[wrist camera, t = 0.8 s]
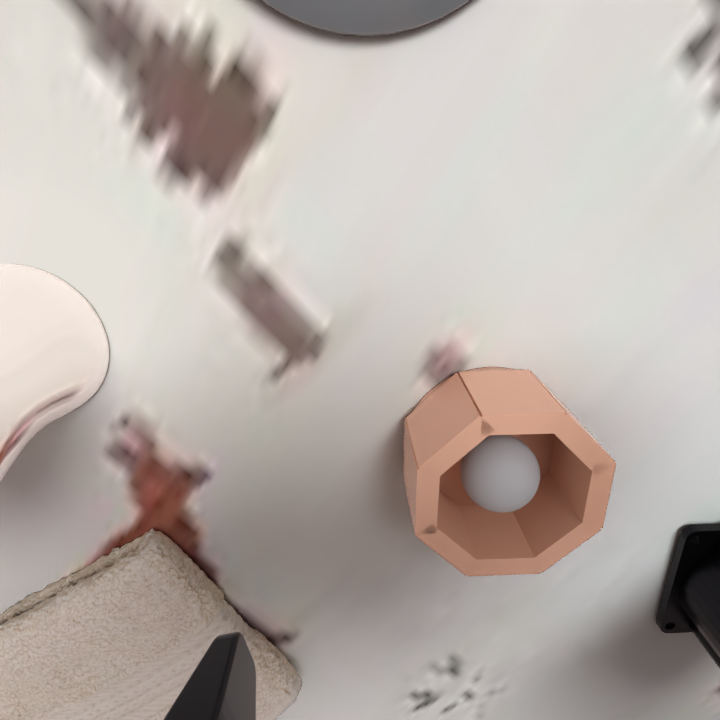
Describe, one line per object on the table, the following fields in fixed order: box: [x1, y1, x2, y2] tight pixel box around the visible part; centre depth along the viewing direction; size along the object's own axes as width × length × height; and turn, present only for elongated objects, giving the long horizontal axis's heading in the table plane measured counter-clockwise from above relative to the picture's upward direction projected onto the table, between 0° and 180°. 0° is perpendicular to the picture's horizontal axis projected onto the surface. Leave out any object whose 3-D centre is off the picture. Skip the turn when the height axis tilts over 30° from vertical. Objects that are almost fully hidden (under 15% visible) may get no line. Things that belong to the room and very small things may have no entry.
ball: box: [460, 435, 540, 513], centre depth 20 cm, size 3×3×3 cm
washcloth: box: [0, 528, 302, 720], centre depth 25 cm, size 12×18×3 cm, turn 122°
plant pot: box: [403, 367, 616, 576], centre depth 20 cm, size 7×7×4 cm
